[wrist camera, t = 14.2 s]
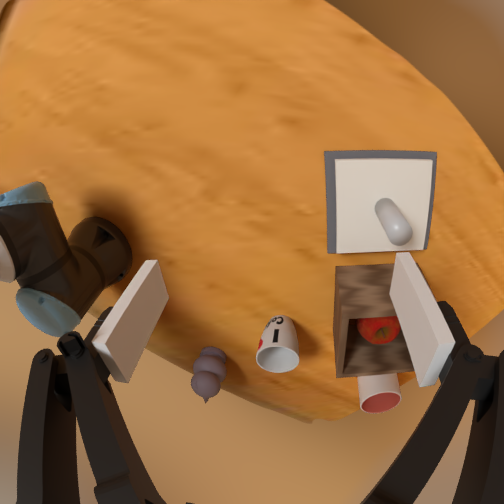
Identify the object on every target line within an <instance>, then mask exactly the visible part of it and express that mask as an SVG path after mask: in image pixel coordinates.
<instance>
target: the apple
mask: <svg viewBox="0 0 504 504" xmlns="http://www.w3.org/2000/svg"><path fill="white" fill-rule="evenodd" d="M356 325H357V329H358V331H359V333H360V334H361V335H362V337H363V338H365V339H366V340H367V341H369V342H370V343H372V344H385V343H388V342H391V341H393V340H394V339H395V338H396V337H397V335H398V333H399V332H400V330H401V325H400V322H399V319H398V317H397V316H388V317H374V318H357V319H356Z"/></svg>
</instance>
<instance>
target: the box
mask: <svg viewBox="0 0 504 504" xmlns="http://www.w3.org/2000/svg"><path fill="white" fill-rule="evenodd" d="M394 265H395V264H378V265H356V266H336V271H335V301H334V321H333V336H334V349H335V363H336V378H343V377H359V376H372V375H383V374H393V373H402V372H410V371H415V370H414V367H413V363H412V360H411V356H410V353H409V350H408V347H407V344H406V341H405V337H404V334H403V331H402V328H401V330H400V332H399V333H398V335H397V337H396V338H395V339H394V340H393V341H391V342H388V343H385V344H372V343H370V342H369V341H367V340H366V339H365V338H363V337H362V335H361V334H360V333H359V331H358V329H357V325H348V322H349V319H357V318H374V317H388V316H397V314H396V311H395V308H394V305H393V303H392V300H391V297H390V294H389V293H390V288H391V282H392V277H393V271H394ZM416 265H417V267H418V269H419V270H420V272H421V274H422V276H423V278H424V280H425V281H426V279H425V277H424V275H423V273H422V271H421V269H420V267H419V265H418V264H417V263H416ZM426 283H427V281H426ZM427 285H428V283H427ZM428 287H429V285H428ZM429 289H430V287H429ZM430 291H431V289H430ZM431 293H432V291H431ZM432 295H433V293H432ZM433 297H434V295H433ZM434 298H435V297H434ZM435 300H436V299H435ZM436 302H437V301H436Z"/></svg>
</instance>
